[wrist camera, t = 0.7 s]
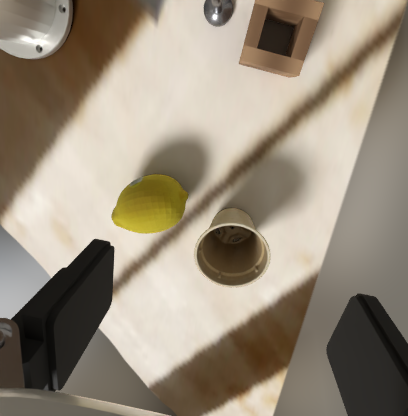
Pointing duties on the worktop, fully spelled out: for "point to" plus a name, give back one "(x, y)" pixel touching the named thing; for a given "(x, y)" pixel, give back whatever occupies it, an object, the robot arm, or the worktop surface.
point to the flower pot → (232, 250)
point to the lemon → (150, 204)
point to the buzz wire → (218, 11)
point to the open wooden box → (299, 42)
